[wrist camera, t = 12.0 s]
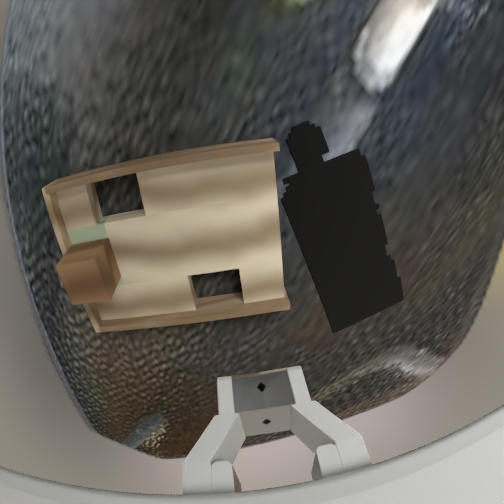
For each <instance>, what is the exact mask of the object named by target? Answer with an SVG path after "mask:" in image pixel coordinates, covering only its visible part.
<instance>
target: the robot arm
mask: <svg viewBox="0 0 504 504" xmlns="http://www.w3.org/2000/svg"><path fill="white" fill-rule="evenodd" d="M217 393H218V411H219V415H215V416H214V417H213V419H212V420H211V422H210V423H209V425H208V426H207V428H206V429H205V431H204V432H203V434H202V435H201V437H200V438H199V440H198V441H197V442H196V444H195V445H194V447H193V448H192V450H191V451H190V453H189V454H188V455H187V457H186V458H185V460H184V461H183V495H162V494H141V493H128V492H118V491H109V490H101V489H93V488H87V487H81V486H76V485H70V484H65V483H60V482H56V481H51V480H47V479H42V478H39V477H35V476H31V475H27V474H24V473H20V472H17V471H13V470H11V469H8V468H4V467H1V466H0V504H504V405H502V406H501V407H499V408H497V409H496V410H494V411H492V412H490V413H489V414H487V415H485V416H483V417H482V418H480V419H478V420H477V421H474V422H473V423H471V424H469V425H467V426H465V427H463V428H461V429H459V430H457V431H455V432H453V433H451V434H449V435H447V436H444V437H442V438H440V439H438V440H436V441H433V442H431V443H429V444H427V445H424V446H422V447H419V448H417V449H415V450H412V451H409V452H407V453H404V454H402V455H399V456H396V457H393V458H391V459H388V460H385V461H382V462H379V463H376V464H373V465H372V463H371V460H370V458H369V455H368V452H367V449H366V446H365V443H364V441H363V438H362V435H361V434H359V433H358V432H357V431H355V430H354V429H353V428H351V427H350V426H348V425H347V424H346V423H344V422H343V421H342V420H340V419H339V418H338V417H336V416H335V415H334V414H332V413H331V412H330V411H328V410H327V409H326V408H324V407H323V406H322V405H320V404H319V403H318V402H317V401H311V399H310V395H309V392H308V389H307V385H306V382H305V378H304V375H303V372H302V368H301V367H300V366H295V367H289V368H282V369H276V370H270V371H264V372H259V373H254V374H246V375H236V376H226V377H218V378H217ZM286 430H291V431H292V432H293V433H294V434H295V435H296V436H297V437H298V438H299V439H300V440H301V441H302V442H303V443H304V444H305V445H306V446H307V447H308V448H309V449H310V450H312V451H313V452H314V453H315V458H314V463H313V468H312V473H311V474H312V478H313V481H308V482H304V483H298V484H293V485H288V486H281V487H275V488H268V489H261V490H253V491H244V492H242V491H241V484H240V482H239V479H238V477H237V475H236V472H235V470H234V468H233V465H232V463H233V461H234V460H235V458H236V456H237V453H238V452H239V450H240V448H241V446H242V444H243V442H244V440H245V437H246V436H253V435H259V434H265V433H272V432H279V431H286Z"/></svg>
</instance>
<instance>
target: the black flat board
mask: <svg viewBox="0 0 504 504" xmlns="http://www.w3.org/2000/svg"><path fill="white" fill-rule="evenodd" d="M291 129H292V131H293V132H291V133H289V136H290V138H289V139H286V141H287V143H288V145H289V148H290V150H291V153H292V155H293V158H294V160H295V163H296V165H297V168H298V170H299V173H297V174H294V175H292V176H290V177H287V178H285V179H283V181H284V184H286V183H288V182H289V184H290V186H288V187H286V188H287V192H285V193H284V195H285V197H284V198H282V199H281V200H282V202H283V204H284V207H285V209H286V212H287V214H288V216H289V219H290V221H291V224H292V226H293V229H294V231H295V234H296V236H297V238H298V241H299V243H300V246H301V248H302V251H303V253H304V256H305V258H306V261H307V264H308V266H309V269H310V271H311V274H312V276H313V279H314V282H315V284H316V287H317V289H318V292H319V295H320V297H321V300H322V303H323V305H324V308H325V311H326V313H327V316H328V319H329V321H330V324H331V327H332V330H333V332H334V333H335V332H337V331H339V330H341V329H344V328H346V327H348V326H350V325H352V324H354V323H357V322H359V321H361V320H363V319H365V318H367V317H369V316H371V315H374V314H376V313H378V312H380V311H382V310H384V309H386V308H388V307H390V306H392V305H394V304H396V303H398V302H400V301H402V300H404V299H403V292H402V285H401V278H400V277H399V278H397V273H396V267H395V262H394V259H393V260H391V258H390V255H389V256H387V255H386V250H385V245H386V244H388V243H387V238H386V234H385V229H384V225H383V220H382V216H381V214H379V215H377V211H376V209H377V208H379V204H376V205H375V203H374V199H373V195H372V192H371V191H373V190H375V188H374V185H373V181H372V177H371V174H370V170H369V167H368V163H367V160H366V157H365V155H363V156H361V154H360V151H359V149H356V150H353V151H351V152H348V153H346V154H343V155H341V156H338V157H336V158H333V159H331V160H328V161H326V162H324V161H323V158H322V155H321V154H324V153H326V152H329V149H328V146H327V144H326V141H325V138H324V136H323V133H322V130H321V128H320V126H319V127H315V124H312V125H310V124H309V121H307V122H304V123H302V124H299V125H296V126H294V127H291Z"/></svg>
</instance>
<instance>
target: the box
mask: <svg viewBox="0 0 504 504" xmlns="http://www.w3.org/2000/svg"><path fill="white" fill-rule="evenodd" d="M274 151H280V146H279V142H277V141H276V140H274V139H273V138H266V139H256V140H248V141H240V142H232V143H225V144H218V145H211V146H204V147H198V148H192V149H186V150H180V151H174V152H169V153H164V154H158V155H153V156H148V157H143V158H139V159H134V160H129V161H125V162H120V163H116V164H112V165H108V166H104V167H99V168H95V169H92V170H88V171H84V172H80V173H76V174H73V175H69V176H66V177H62V178H59V179H56V180H55V181H53V182H51V183H50V184H48V185H47V186H45V187H44V188H42V192H43V196H44V199H45V203H46V206H47V210H48V213H49V216H50V219H51V222H52V225H53V229H54V232H55V235H56V237H57V240H58V243H59V246H60V249H61V252H62V254H63V256H64V254H65V253H66V252H67V251H68V249H69V248H70V247H71V246H72V245H74V244H79V243H84V242H89V241H94V240H99V239H104V238H109V240H110V243H111V246H112V250H113V253H114V256H115V259H116V262H117V265H118V268H119V270H120V273H121V278H120V280H119V282H118V284H117V287H116V289H115V291H114V294H113V296H112V298H111V301H102V302H94V303H86V304H83V306H84V308H85V310H86V312H87V315H88V317H89V319H90V321H91V323H92V325H93V327H94V329H95V331H96V333H98V332H111V331H123V330H134V329H144V328H154V327H164V326H173V325H182V324H190V323H198V322H206V321H214V320H221V319H229V318H236V317H243V316H249V315H256V314H263V313H269V312H275V311H281V310H287V309H290V302H289V299H288V296H287V293H286V291H285V288H284V282H283V267H282V252H281V238H280V225H279V212H278V200H277V187H276V176H275V164H274V153H273V152H274ZM133 173H136V175H137V179H138V184H139V189H140V193H141V198H142V202H143V206H144V209H140V210H134V211H129V212H124V213H119V214H114V215H109V216H104V217H103V215H102V211H101V208H100V204H99V200H98V196H97V192H96V188H95V184H94V182H97V181H102V180H106V179H110V178H115V177H119V176H124V175H128V174H133ZM232 269H239V272H240V279H241V286H242V292H238V293H231V294H224V295H217V296H210V297H203V298H196V293H195V289H194V285H193V281H192V277H191V275H197V274H204V273H212V272H219V271H226V270H232Z"/></svg>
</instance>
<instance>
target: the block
mask: <svg viewBox="0 0 504 504" xmlns="http://www.w3.org/2000/svg"><path fill="white" fill-rule="evenodd" d="M56 269H57V271H58V274H59V276H60V278H61V281H62V283H63V285H64V288H65V290H66V292H67V294H68V297H69V299H70V301H71V303H72V305H77V304H86V303H94V302H102V301H111V298H112V296H113V294H114V291H115V289H116V287H117V284H118V282H119V280H120V278H121V273H120V270H119V268H118V265H117V262H116V259H115V256H114V253H113V250H112V246H111V243H110V240H109V238H104V239H99V240H94V241H89V242H84V243H79V244H74V245H72V246H71V247H70V248H69V249H68V251H67V252H66V253H65V254H64V256H63V257H62V258H61V259H60V261H59V262H58V263H57V265H56Z"/></svg>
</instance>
